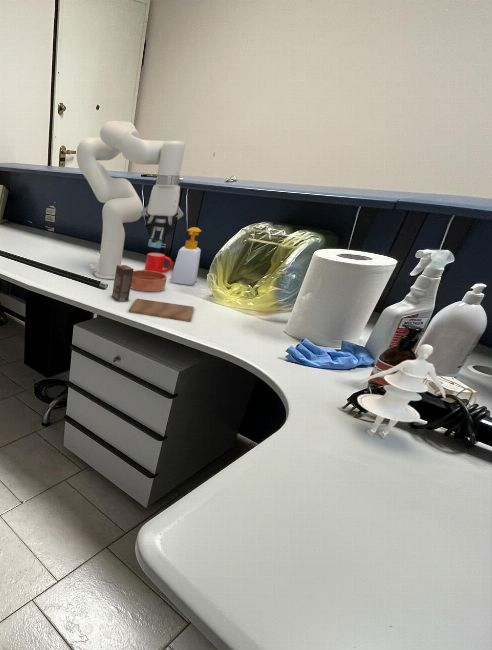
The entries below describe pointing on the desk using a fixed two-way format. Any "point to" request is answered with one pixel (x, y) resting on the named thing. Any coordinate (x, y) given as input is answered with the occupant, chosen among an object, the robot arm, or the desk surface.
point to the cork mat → (162, 309)
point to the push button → (157, 233)
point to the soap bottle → (187, 261)
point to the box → (122, 282)
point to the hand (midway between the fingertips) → (158, 234)
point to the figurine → (401, 391)
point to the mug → (157, 262)
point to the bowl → (148, 280)
